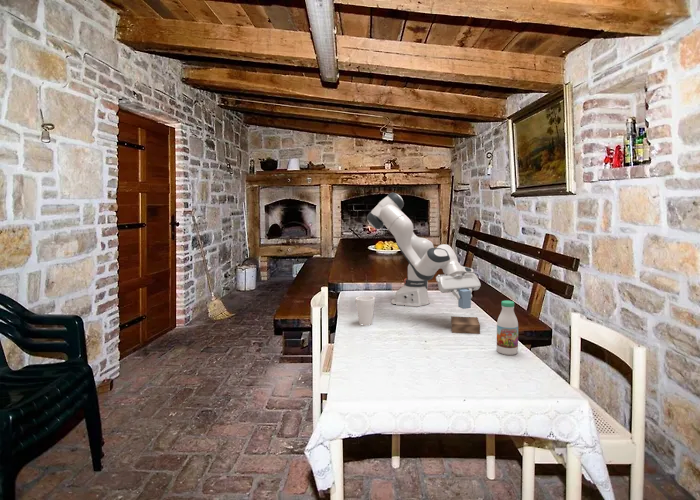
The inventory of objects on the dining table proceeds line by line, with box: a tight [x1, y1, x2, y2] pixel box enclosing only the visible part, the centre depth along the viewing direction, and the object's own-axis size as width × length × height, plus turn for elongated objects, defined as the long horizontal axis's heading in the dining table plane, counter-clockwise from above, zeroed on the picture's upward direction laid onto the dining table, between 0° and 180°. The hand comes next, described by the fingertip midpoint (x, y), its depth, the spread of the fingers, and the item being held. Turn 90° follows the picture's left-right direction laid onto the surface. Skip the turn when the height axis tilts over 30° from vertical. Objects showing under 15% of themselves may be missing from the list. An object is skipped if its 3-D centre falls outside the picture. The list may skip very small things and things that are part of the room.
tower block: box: [457, 289, 472, 310], centre depth 176 cm, size 4×4×8 cm
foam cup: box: [355, 295, 376, 326], centre depth 190 cm, size 10×9×13 cm
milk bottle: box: [496, 300, 519, 356], centre depth 149 cm, size 8×8×20 cm
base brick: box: [450, 316, 481, 335], centre depth 178 cm, size 12×12×4 cm
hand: (465, 298), depth 176 cm, fingers closed on tower block, 4 cm apart
